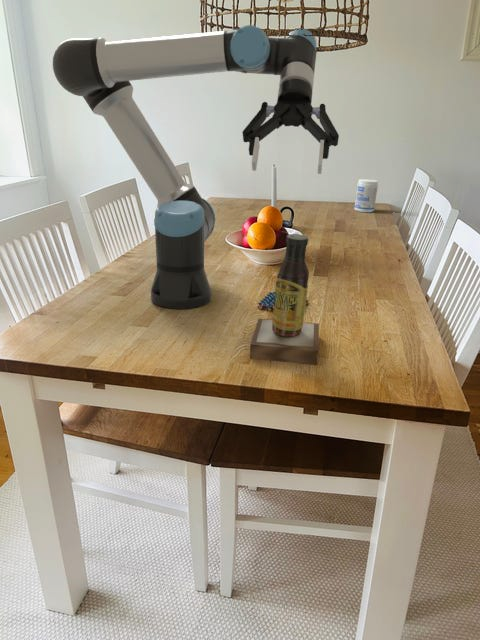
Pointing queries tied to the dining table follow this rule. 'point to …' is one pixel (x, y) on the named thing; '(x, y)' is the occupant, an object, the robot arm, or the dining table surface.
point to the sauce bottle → (291, 288)
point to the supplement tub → (366, 195)
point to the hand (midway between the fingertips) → (286, 168)
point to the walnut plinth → (285, 344)
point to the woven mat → (269, 302)
